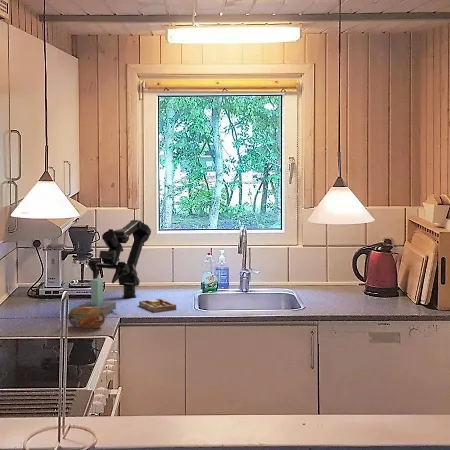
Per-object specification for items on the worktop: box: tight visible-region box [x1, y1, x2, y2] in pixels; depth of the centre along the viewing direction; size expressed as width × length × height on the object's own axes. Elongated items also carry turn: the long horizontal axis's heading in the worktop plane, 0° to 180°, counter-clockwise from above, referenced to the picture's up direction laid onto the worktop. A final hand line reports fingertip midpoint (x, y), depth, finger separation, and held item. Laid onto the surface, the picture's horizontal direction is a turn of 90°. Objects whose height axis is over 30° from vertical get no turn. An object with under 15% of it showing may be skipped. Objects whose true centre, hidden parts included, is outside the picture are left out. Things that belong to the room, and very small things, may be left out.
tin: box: [68, 306, 106, 329], centre depth 299 cm, size 15×3×8 cm, turn 80°
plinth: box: [78, 300, 117, 317], centre depth 323 cm, size 12×12×4 cm
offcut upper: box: [148, 299, 160, 305], centre depth 333 cm, size 4×4×1 cm
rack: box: [138, 298, 177, 313], centre depth 330 cm, size 15×11×3 cm
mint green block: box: [90, 277, 104, 305], centre depth 322 cm, size 5×3×11 cm, turn 163°
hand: (103, 282), depth 327 cm, fingers open, 9 cm apart
